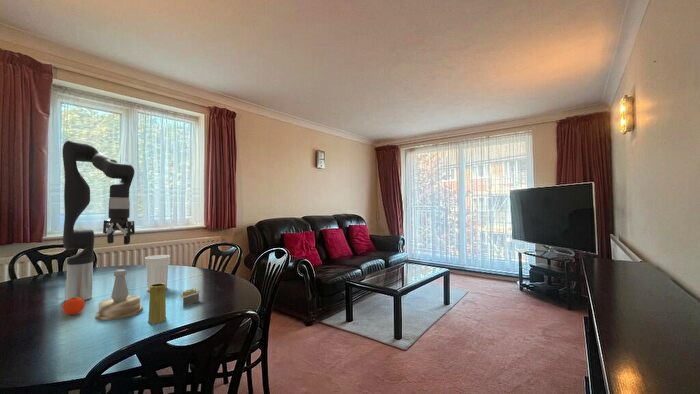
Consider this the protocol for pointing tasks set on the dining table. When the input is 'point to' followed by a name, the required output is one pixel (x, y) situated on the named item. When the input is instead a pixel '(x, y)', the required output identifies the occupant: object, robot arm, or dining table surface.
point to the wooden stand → (118, 308)
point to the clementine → (73, 305)
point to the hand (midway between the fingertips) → (118, 243)
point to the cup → (157, 269)
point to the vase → (157, 303)
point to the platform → (190, 296)
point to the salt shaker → (120, 287)
